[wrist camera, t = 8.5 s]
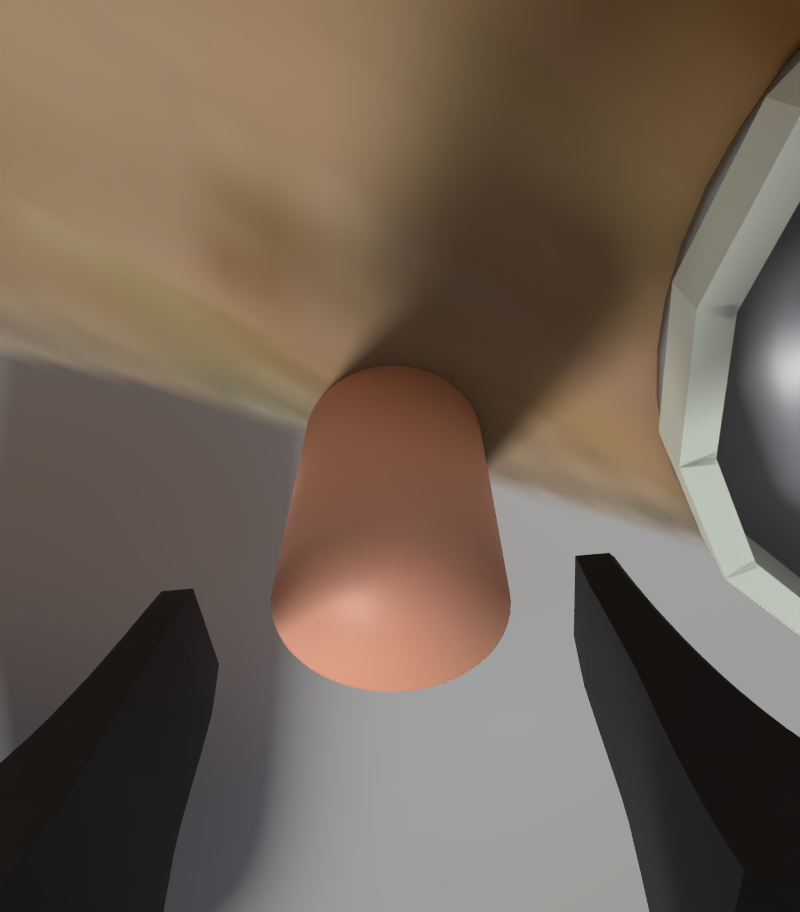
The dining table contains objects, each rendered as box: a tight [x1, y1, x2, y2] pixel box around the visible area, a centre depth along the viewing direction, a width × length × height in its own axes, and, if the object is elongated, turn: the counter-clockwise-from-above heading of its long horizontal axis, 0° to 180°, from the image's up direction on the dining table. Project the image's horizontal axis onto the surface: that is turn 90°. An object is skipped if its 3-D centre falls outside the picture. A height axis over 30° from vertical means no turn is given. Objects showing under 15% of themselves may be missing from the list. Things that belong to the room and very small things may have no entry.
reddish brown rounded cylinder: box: [271, 365, 511, 692], centre depth 17 cm, size 4×4×6 cm
